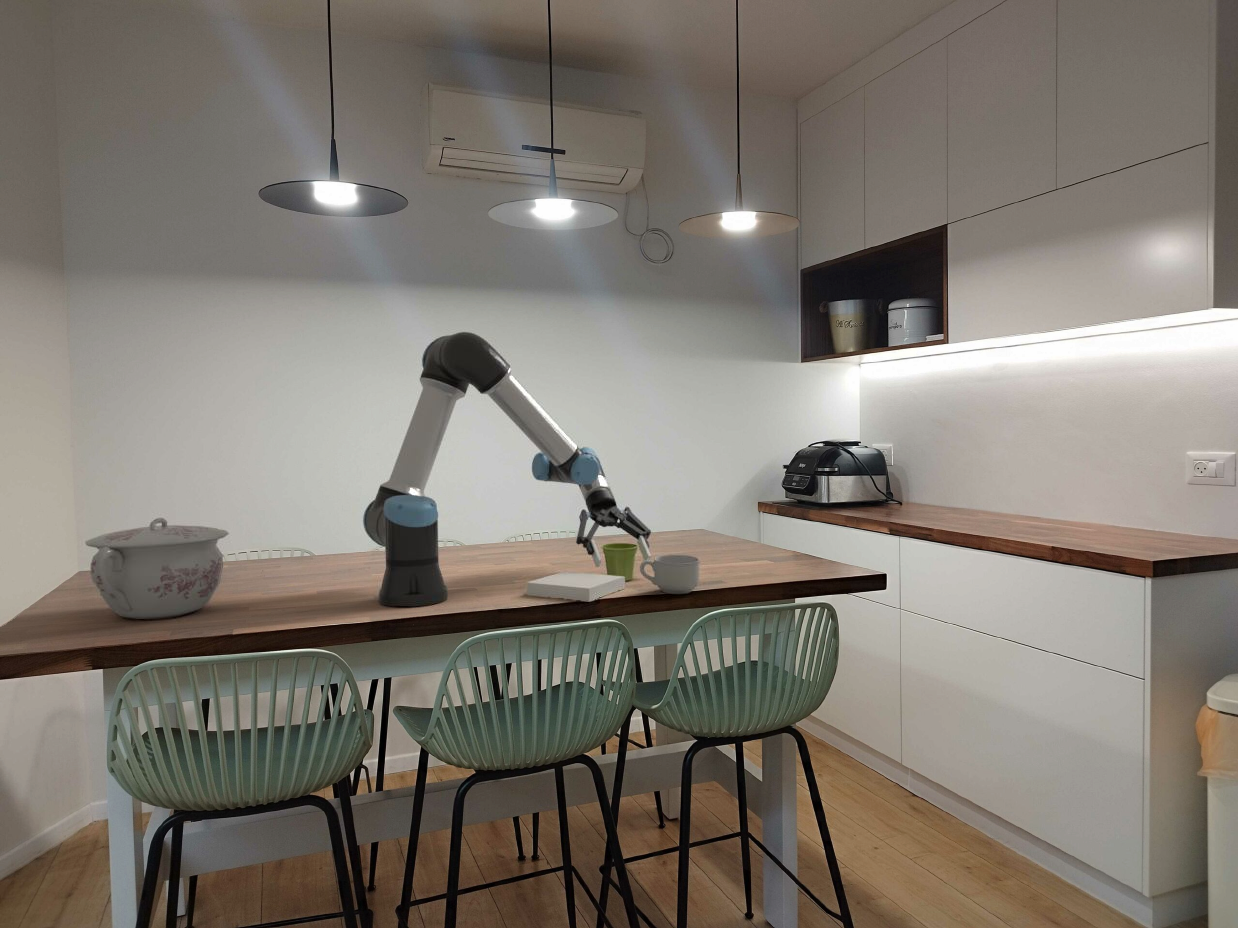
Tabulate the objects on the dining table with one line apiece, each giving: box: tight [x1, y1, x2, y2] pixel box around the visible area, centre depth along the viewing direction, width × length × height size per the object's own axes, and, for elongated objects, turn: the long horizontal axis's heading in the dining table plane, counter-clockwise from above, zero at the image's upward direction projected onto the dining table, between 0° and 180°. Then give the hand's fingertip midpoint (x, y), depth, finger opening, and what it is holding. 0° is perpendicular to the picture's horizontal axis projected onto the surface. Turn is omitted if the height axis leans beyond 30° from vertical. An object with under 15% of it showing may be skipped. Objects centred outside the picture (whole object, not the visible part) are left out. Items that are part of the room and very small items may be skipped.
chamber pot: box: [84, 517, 230, 620], centre depth 187 cm, size 28×28×21 cm
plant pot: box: [600, 542, 639, 582], centre depth 218 cm, size 9×9×9 cm
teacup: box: [639, 553, 701, 595], centre depth 202 cm, size 14×11×8 cm
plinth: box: [526, 570, 626, 603], centre depth 203 cm, size 17×16×3 cm
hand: (624, 561), depth 216 cm, fingers open, 13 cm apart
